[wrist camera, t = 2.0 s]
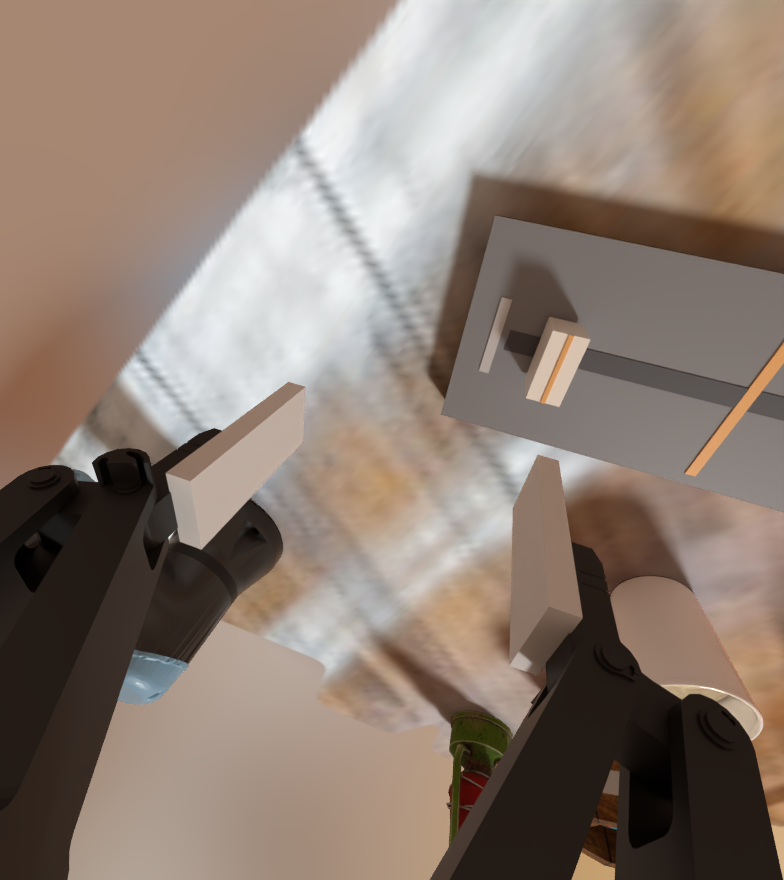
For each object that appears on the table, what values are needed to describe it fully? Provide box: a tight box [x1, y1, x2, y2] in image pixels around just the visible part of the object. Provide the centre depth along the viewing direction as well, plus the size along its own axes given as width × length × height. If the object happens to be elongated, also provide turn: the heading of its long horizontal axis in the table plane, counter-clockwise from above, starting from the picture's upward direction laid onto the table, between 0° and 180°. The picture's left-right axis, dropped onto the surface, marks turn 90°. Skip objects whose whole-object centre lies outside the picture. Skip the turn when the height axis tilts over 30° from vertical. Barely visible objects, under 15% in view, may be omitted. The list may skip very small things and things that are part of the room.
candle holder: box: [610, 576, 763, 741], centre depth 38 cm, size 10×10×12 cm
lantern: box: [447, 711, 513, 846], centre depth 54 cm, size 14×11×30 cm
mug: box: [581, 760, 620, 868], centre depth 49 cm, size 20×14×15 cm
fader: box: [525, 317, 591, 407], centre depth 28 cm, size 2×5×4 cm, turn 170°
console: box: [441, 215, 784, 512], centre depth 29 cm, size 30×16×5 cm, turn 80°
